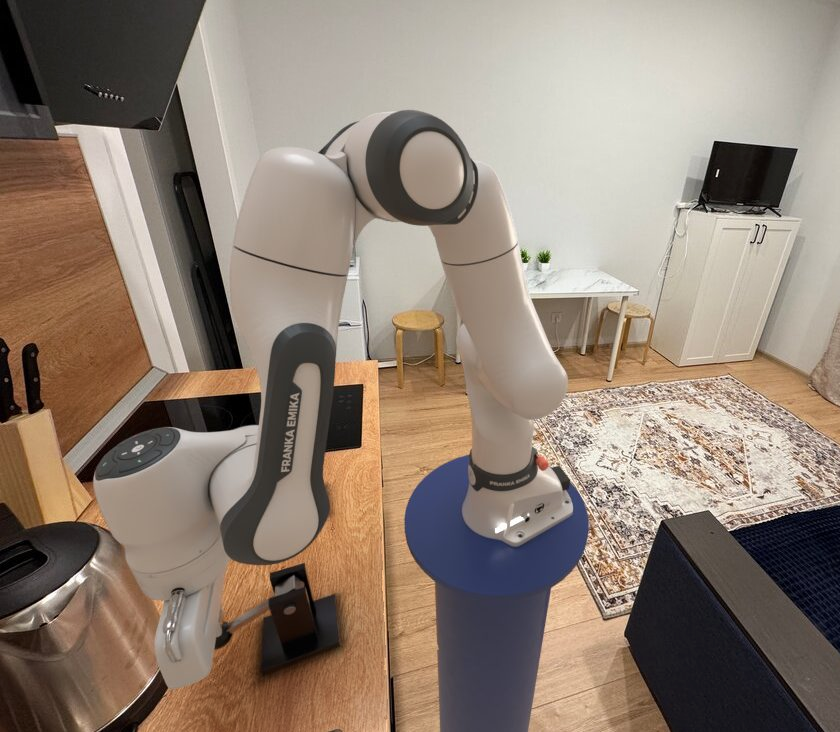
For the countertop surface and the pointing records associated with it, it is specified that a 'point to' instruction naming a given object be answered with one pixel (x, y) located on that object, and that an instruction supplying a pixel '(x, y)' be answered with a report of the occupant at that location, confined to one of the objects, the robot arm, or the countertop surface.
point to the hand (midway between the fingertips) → (215, 627)
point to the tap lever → (255, 611)
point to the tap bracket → (297, 624)
